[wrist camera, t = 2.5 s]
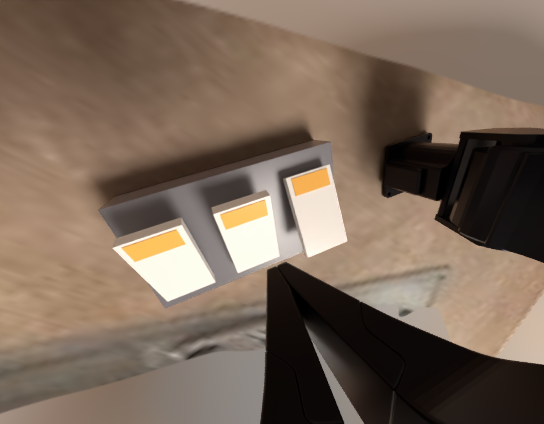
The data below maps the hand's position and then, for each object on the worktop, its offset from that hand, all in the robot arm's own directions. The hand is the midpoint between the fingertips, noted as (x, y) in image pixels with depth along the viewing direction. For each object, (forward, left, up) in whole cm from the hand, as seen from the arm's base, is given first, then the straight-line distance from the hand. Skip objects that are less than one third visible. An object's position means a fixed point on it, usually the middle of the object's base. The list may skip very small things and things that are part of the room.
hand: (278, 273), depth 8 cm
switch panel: (0, +2, -12) cm, 12 cm away
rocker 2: (-6, +2, -8) cm, 10 cm away
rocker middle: (0, +2, -8) cm, 8 cm away
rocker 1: (+6, +2, -8) cm, 10 cm away
